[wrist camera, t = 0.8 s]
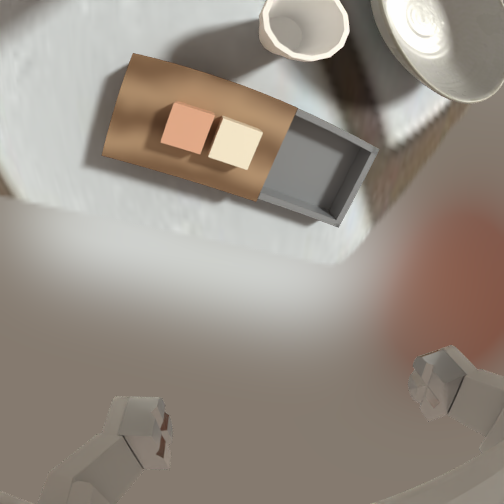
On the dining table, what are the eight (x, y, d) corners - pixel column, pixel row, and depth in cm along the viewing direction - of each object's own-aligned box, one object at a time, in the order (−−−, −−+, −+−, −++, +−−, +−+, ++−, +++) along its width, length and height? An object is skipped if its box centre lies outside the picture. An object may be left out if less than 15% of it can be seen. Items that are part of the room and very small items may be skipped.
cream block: (222, 115, 36) (223, 118, 33) (259, 128, 37) (263, 132, 35) (208, 151, 38) (208, 157, 36) (244, 163, 40) (247, 170, 37)
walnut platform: (142, 56, 35) (132, 53, 30) (286, 104, 42) (297, 108, 37) (114, 145, 41) (101, 155, 36) (250, 187, 48) (256, 201, 43)
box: (289, 105, 42) (298, 108, 38) (365, 142, 46) (379, 149, 42) (253, 188, 48) (257, 198, 44) (329, 215, 52) (338, 227, 48)
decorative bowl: (437, 120, 45) (483, 137, 34) (312, 36, 36) (345, 25, 26) (479, 17, 33) (524, 19, 23) (371, -72, 25) (409, -95, 14)
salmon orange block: (176, 100, 34) (173, 102, 32) (214, 112, 36) (215, 115, 33) (163, 137, 36) (160, 142, 34) (200, 148, 38) (200, 154, 35)
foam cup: (243, 59, 37) (256, 51, 26) (251, 2, 33) (268, -25, 22) (308, 69, 39) (343, 68, 28) (316, 14, 34) (353, -4, 23)
